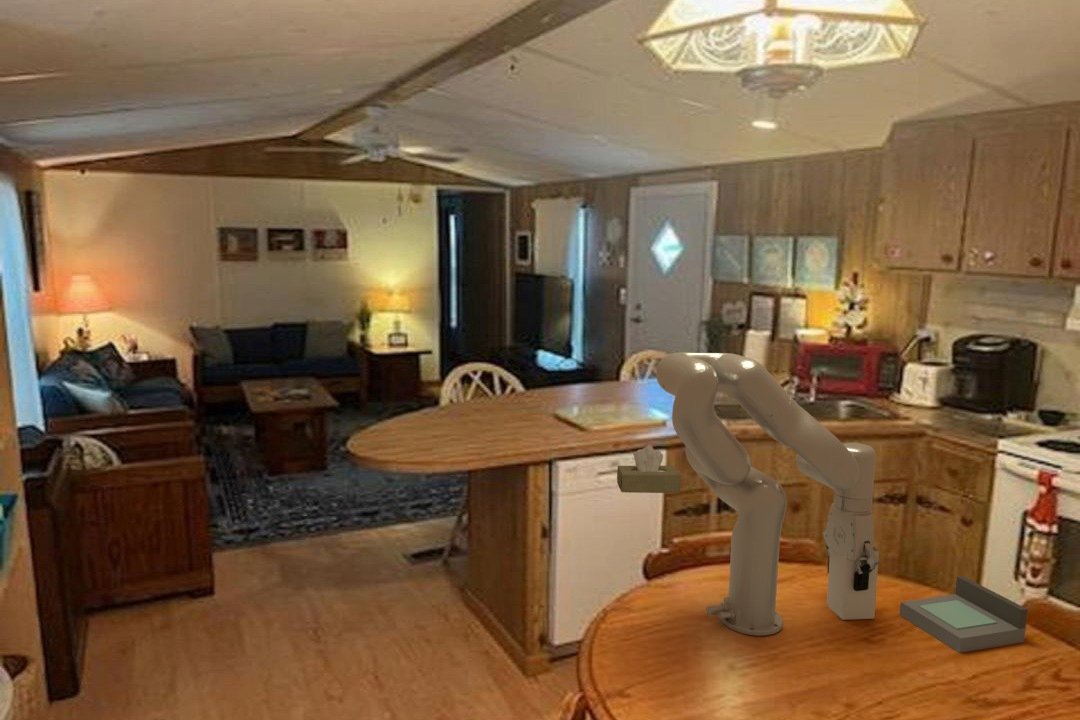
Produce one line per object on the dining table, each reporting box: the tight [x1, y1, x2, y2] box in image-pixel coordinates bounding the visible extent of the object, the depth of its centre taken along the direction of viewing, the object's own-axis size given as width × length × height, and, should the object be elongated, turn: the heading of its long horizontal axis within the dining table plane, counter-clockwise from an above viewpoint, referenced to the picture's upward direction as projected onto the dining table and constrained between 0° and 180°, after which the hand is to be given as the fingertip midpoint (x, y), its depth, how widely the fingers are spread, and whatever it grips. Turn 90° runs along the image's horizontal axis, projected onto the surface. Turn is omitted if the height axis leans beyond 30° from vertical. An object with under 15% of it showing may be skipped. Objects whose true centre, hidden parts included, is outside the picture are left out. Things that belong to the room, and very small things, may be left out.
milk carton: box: [826, 545, 880, 621], centre depth 163 cm, size 7×7×19 cm
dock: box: [899, 575, 1028, 654], centre depth 158 cm, size 16×16×7 cm
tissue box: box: [616, 445, 682, 494], centre depth 241 cm, size 19×10×16 cm, turn 93°
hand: (847, 580), depth 164 cm, fingers closed on milk carton, 7 cm apart
